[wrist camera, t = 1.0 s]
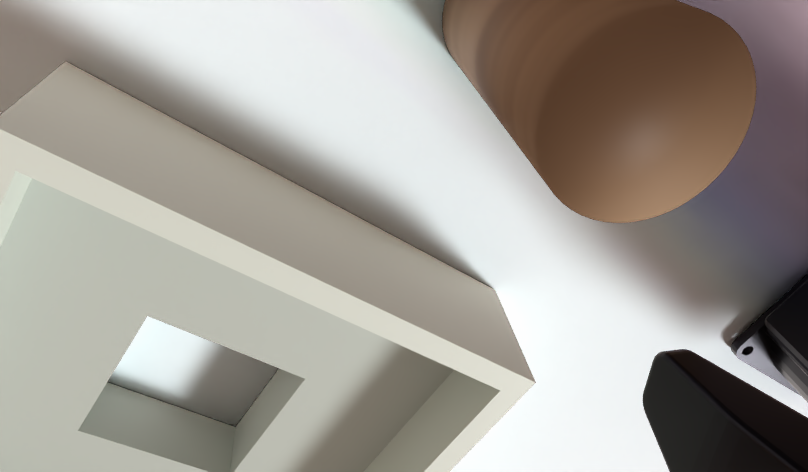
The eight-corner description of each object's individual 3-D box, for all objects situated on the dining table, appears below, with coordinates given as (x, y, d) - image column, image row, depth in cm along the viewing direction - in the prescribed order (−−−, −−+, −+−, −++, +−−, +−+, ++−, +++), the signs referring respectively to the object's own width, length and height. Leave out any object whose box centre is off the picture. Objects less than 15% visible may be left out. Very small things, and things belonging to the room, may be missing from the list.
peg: (599, -3, 19) (800, 90, 11) (515, 106, 20) (642, 255, 13) (498, -87, 17) (651, -47, 10) (415, 37, 19) (490, 158, 11)
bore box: (494, 289, 24) (535, 382, 20) (284, 532, 30) (280, 645, 25) (65, 61, 18) (-11, 123, 14) (-97, 423, 23) (-186, 547, 19)
